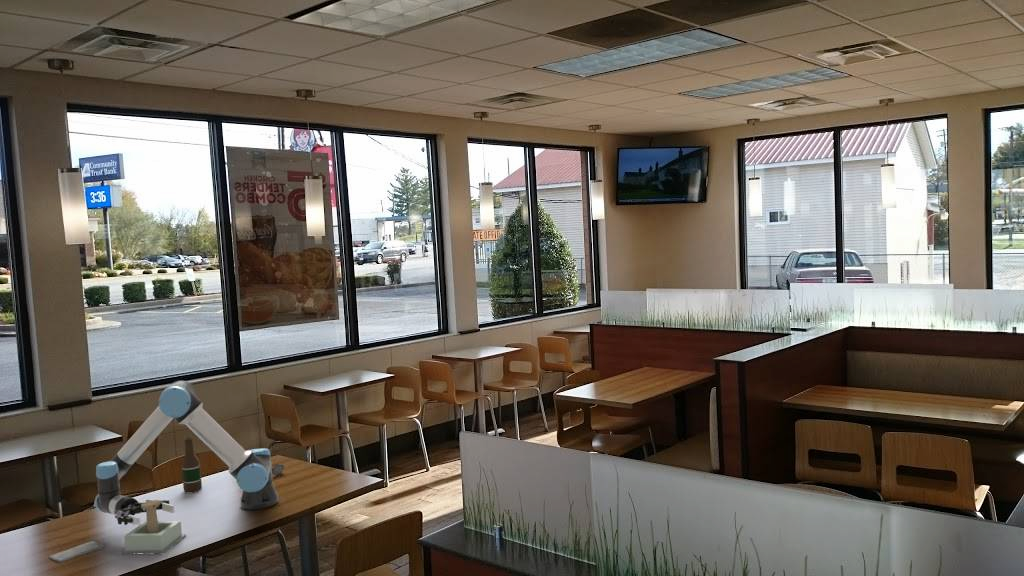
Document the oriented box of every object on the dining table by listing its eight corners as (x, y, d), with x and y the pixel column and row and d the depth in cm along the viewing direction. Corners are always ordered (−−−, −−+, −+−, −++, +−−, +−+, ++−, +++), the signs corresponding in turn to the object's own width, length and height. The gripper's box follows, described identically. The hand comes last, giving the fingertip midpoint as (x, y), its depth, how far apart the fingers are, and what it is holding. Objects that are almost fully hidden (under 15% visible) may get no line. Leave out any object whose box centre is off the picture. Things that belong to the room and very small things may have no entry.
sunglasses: (256, 483, 367) (255, 472, 367) (238, 481, 379) (237, 470, 379) (288, 473, 379) (287, 463, 379) (270, 471, 391) (268, 461, 391)
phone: (104, 547, 299) (104, 544, 299) (60, 564, 286) (59, 560, 286) (93, 543, 304) (93, 540, 304) (49, 559, 291) (48, 556, 291)
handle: (142, 544, 296) (138, 504, 295) (159, 538, 301) (155, 499, 300) (149, 546, 293) (145, 506, 292) (165, 540, 298) (162, 501, 297)
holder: (186, 536, 304) (184, 519, 303) (163, 553, 288) (161, 536, 288) (146, 537, 306) (144, 520, 305) (121, 554, 290) (119, 537, 289)
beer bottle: (195, 493, 357) (190, 440, 355) (180, 493, 358) (175, 440, 356) (205, 487, 364) (201, 435, 362) (190, 487, 366) (185, 435, 364)
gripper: (155, 505, 317) (187, 513, 305) (92, 527, 296) (125, 537, 284) (153, 487, 316) (186, 494, 304) (90, 507, 296) (123, 516, 284)
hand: (156, 515), depth 294 cm, fingers open, 13 cm apart
